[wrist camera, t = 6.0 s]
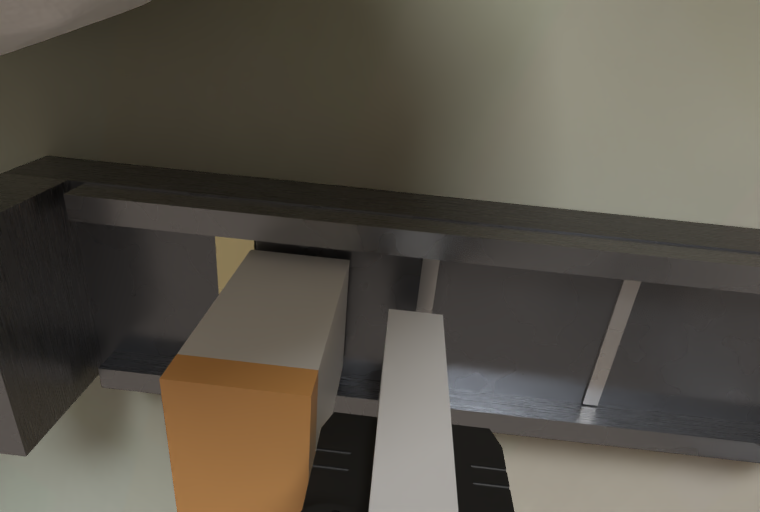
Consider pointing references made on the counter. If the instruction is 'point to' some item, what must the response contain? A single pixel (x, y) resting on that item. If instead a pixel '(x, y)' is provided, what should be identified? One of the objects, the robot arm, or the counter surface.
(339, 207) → the tray
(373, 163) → the counter surface
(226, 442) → the fader tab
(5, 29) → the decorative rooster
